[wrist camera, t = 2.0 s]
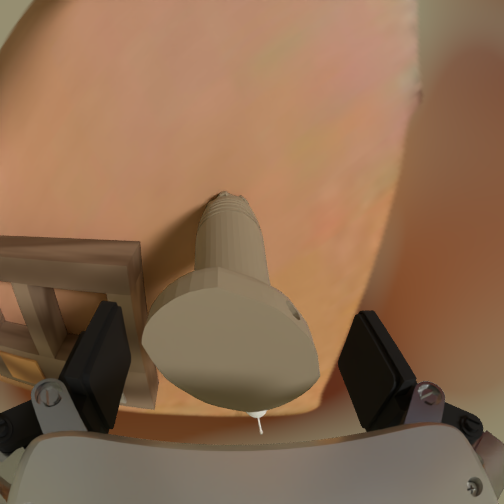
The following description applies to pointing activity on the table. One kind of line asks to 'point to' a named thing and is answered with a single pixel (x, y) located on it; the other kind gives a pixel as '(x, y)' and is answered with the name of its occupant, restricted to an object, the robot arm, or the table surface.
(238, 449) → the robot arm
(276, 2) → the table surface
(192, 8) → the table surface
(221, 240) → the handle
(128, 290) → the socket block
